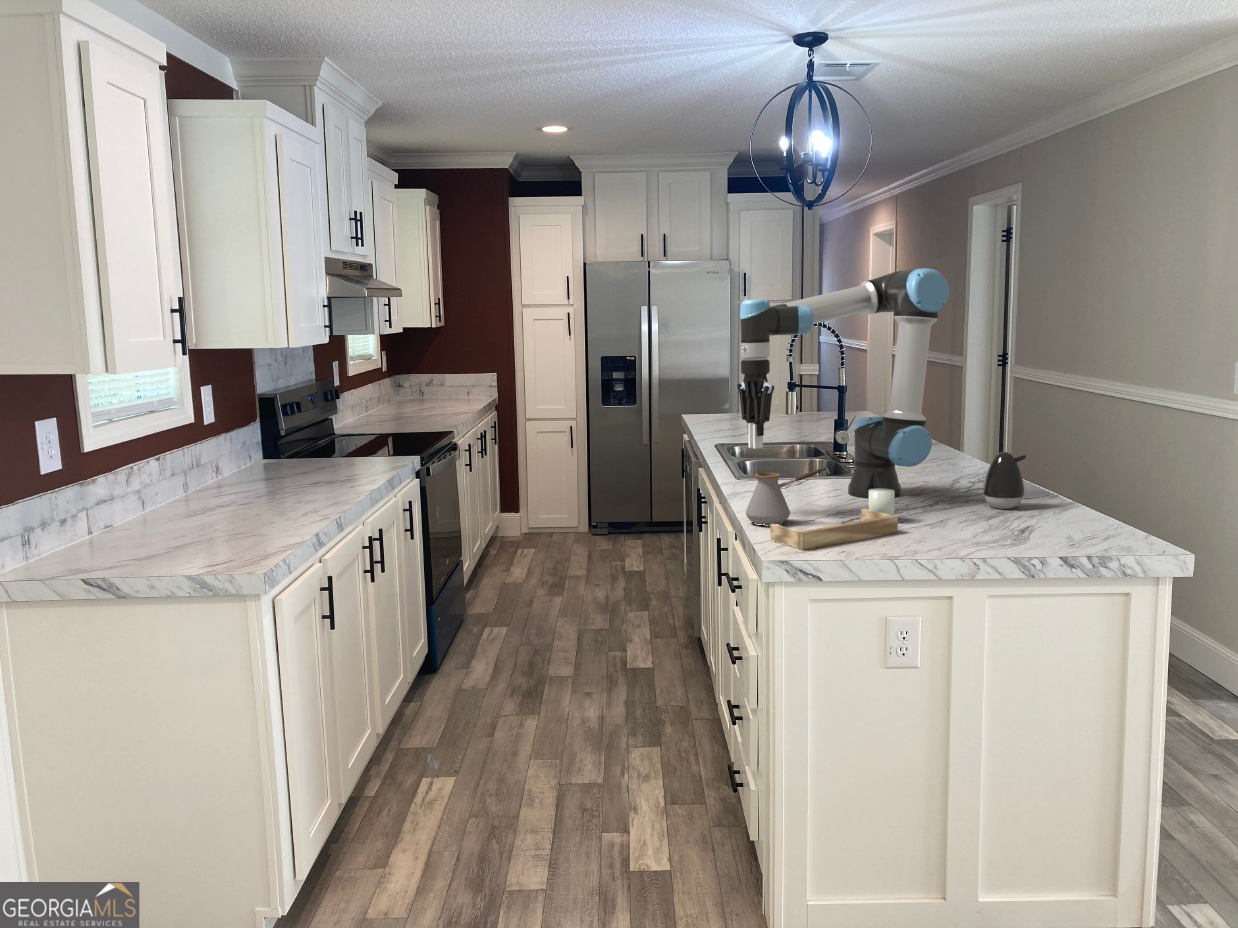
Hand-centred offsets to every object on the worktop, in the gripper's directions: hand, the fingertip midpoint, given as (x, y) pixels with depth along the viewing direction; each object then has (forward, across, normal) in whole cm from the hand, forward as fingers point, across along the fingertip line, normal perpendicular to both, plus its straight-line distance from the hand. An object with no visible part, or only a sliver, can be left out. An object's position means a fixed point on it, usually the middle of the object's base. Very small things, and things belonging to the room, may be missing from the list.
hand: (755, 447), depth 249 cm
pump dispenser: (+19, +32, +59) cm, 70 cm away
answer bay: (+18, +31, 0) cm, 36 cm away
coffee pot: (+19, +13, 0) cm, 23 cm away
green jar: (+19, +25, +21) cm, 38 cm away
